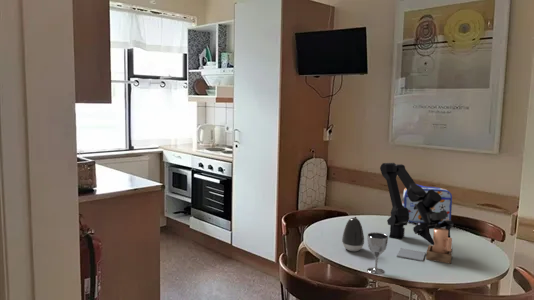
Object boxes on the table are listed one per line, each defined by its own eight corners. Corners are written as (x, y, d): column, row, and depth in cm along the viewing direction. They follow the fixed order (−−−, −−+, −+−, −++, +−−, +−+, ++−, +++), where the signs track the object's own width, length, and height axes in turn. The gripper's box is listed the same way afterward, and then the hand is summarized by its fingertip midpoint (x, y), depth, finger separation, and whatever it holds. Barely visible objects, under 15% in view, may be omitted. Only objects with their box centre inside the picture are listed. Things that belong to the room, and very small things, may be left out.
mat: (396, 256, 188) (396, 255, 188) (400, 249, 198) (400, 248, 197) (422, 261, 183) (422, 260, 183) (425, 253, 193) (425, 252, 193)
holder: (426, 259, 186) (426, 251, 185) (428, 252, 195) (428, 244, 194) (450, 263, 181) (451, 255, 181) (451, 256, 190) (452, 248, 190)
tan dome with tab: (428, 256, 190) (430, 228, 188) (439, 254, 192) (441, 227, 190) (443, 263, 181) (445, 234, 180) (454, 261, 183) (456, 233, 182)
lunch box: (400, 223, 241) (403, 185, 238) (398, 218, 251) (401, 182, 248) (451, 226, 235) (454, 188, 233) (447, 221, 245) (450, 184, 243)
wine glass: (363, 267, 175) (365, 232, 174) (381, 266, 176) (383, 232, 174) (369, 275, 167) (371, 238, 166) (388, 274, 168) (391, 238, 166)
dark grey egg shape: (365, 247, 199) (366, 216, 198) (362, 254, 190) (364, 222, 188) (343, 244, 203) (344, 213, 201) (340, 251, 193) (341, 219, 191)
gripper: (419, 205, 186) (435, 237, 177) (452, 202, 192) (469, 233, 183) (406, 218, 194) (421, 248, 185) (438, 215, 200) (454, 244, 191)
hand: (442, 243), depth 186 cm, fingers open, 9 cm apart
